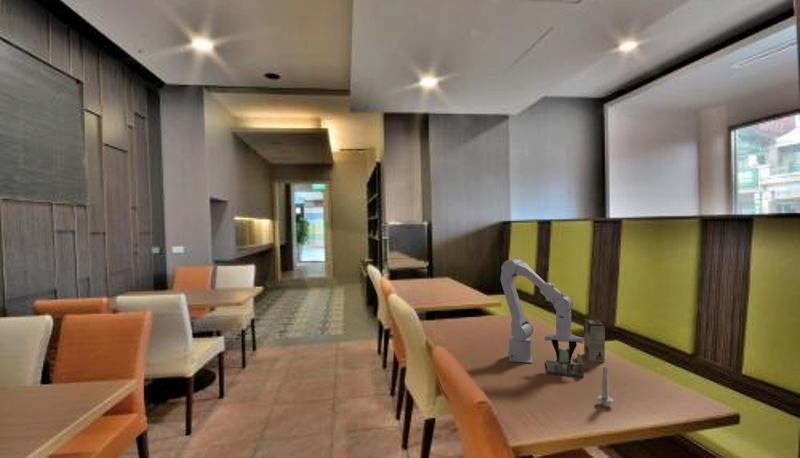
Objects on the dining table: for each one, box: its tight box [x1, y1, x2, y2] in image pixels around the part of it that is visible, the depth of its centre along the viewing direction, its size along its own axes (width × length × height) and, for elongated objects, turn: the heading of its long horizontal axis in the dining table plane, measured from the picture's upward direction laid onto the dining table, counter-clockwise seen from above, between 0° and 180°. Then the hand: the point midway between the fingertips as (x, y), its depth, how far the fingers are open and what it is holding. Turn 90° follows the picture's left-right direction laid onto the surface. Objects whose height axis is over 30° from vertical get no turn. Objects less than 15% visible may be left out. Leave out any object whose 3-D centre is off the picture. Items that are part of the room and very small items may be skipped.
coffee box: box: [583, 318, 606, 363], centre depth 165 cm, size 9×6×16 cm
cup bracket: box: [545, 353, 585, 378], centre depth 153 cm, size 13×12×5 cm
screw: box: [596, 366, 614, 408], centre depth 124 cm, size 13×5×5 cm
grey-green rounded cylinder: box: [558, 347, 569, 364], centre depth 153 cm, size 4×4×6 cm
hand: (563, 359), depth 153 cm, fingers closed on grey-green rounded cylinder, 4 cm apart
